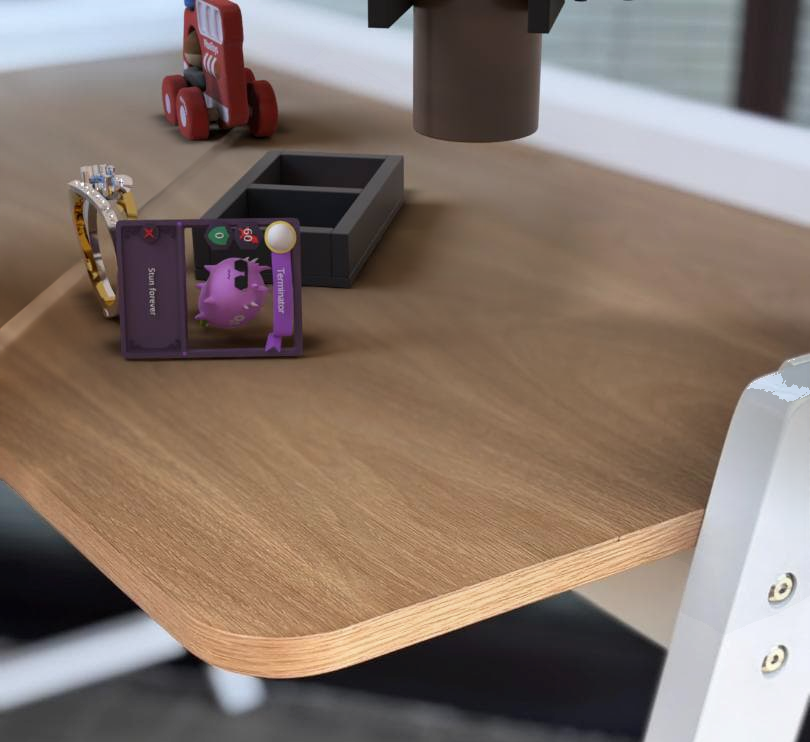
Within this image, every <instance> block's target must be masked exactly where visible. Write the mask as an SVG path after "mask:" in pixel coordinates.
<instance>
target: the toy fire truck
mask: <svg viewBox="0 0 810 742" xmlns="http://www.w3.org/2000/svg"><path fill="white" fill-rule="evenodd" d="M183 4H184V6H185V8H184V10H183V32H182V33H183V35H182V58H183V59H182V60H183V67H184V69H183V71H182V73H183V74H182V75H181V74H171V75H166V76H164V78H163V79H162V82H161V99H162V105H163V106H162V107H163V111H164V116H165V119H166V120H167V121H169V123H171V124H172V125H174V126H178V128H179V133H180V134H181V135H182V136H183V137H184V138H186V139H187V140H189V141H200V140H208V139H209V135H210V129H211V127H210V126H211V125H210V122H216V124H217V126H218V128H219V129H221V130H225V129H226V130H227V129H232V128H237V127H241V126H245V125H246V124H247V126H248V128H249V131H250V132H251V134H252V136H254V137H257V138H261V137H271V136H273V135H274V134H275V133H276V131H277V129H278V125H279V107H278V102H277V97H276V93H275V90H274V88H273V86H272V84H271V82H269V81H268V80H267V79H259V80H258V79H257V80H256V76H255V74H254V72H253V71H252V69H251V68H249V67H245V58H244V57H245V56H244V41H245V39H244V38H245V35H244V24H243V23H244V22H243V14H242V10H241V7H240V6H239V4H238V3H236V2H234V1H231V0H183Z"/></svg>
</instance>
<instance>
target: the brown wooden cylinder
mask: <svg viewBox="0 0 810 742" xmlns="http://www.w3.org/2000/svg"><path fill="white" fill-rule="evenodd" d="M527 27H528V0H413V6H412V128H413V130H414V131H415V132H416V133H417V134H420V135H421V136H424V137H426V138H430V139H435V140H438V141H444V142H450V143H451V142H452V143H464V144H491V143H502V142H503V143H504V142H511V141H516V140H520V139H524V138H527V137H530V136H532V135H534V134H535V133H536V132H538V129H539V121H540V101H541V99H540V96H541V75H542V73H541V72H542V53H543V52H542V49H543V47H542V46H543V34H542V33H527Z"/></svg>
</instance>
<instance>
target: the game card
mask: <svg viewBox="0 0 810 742" xmlns="http://www.w3.org/2000/svg"><path fill="white" fill-rule="evenodd" d="M230 227H237V228H236V230H235V232H234V233H233V231H232V230H231V228H230ZM259 227H268V228H267V229H266V231H265V236H264V234H263V233H262V231H261V229H260V228H259ZM192 228H208V229H207V230H206V232H205V234H204V238H205V239H206V241H207V243H208V244H209V246H210V248H211V249H212V250H228V249H229V247H230V245H231V243H232V241H233V239H235V241H236V243H237V244H238V246H239V247H240V249H241V250H244V249H257V248H258V246H259V244H260V242H261V240H262V238H263V236H264V237H265V243H266V245H267V247H268V248H269V249H270V250H271V251H272V271H273V283H272V285H273V289H272V290H273V292H272V291H271V289H269V288H268V287H266V286H265V283H264V282H263V279H262V277H261V275H260V273H259V272H261V271H263V270H267V269H269V270H270V269H271V268H270V267H268V266H258V265H259V263H256V264H255V262H256V260H257V259H258V258H256V259H254V260H252V261H248V258H249V257H247V258H245V259H240V258H229V259H226V260H224V261H222V262H220V263H219V264H217V265H205V266H204V267H205V268H206V269H207V270H208V271H209V272H210V276H209V278H208V280H206V282H199V283H196V284H195V287H196V288H197V289H199V290H200V293H199V297H198V304H197V305H198V310H199V313H198V314H197V315H195V316H194V319H195V320H199V325H200V326H201V327H205V328H207V327H208V326H213V327H216V328H218V329H233V328H238V327H241V326H244V325H246V324H247V323H249V322H251V321H252V320H253V319H254V318H255V317H256V316H258V314H259V313H260V311H261V310H262V308H263V306H264V305H265V301H266V294H272V293H273V303H272V304H273V305H272V306H273V314H272V315H273V317H272V318H273V323H272V325H273V332H269V334H268V336H267V339H266V345H265V347H243V348H240V347H239V348H238V347H237V348H191V347H190V337H189V314H188V313H189V312H188V311H189V310H188V289H187V288H188V286H187V285H188V284H187V263H186V236H185V229H192ZM116 246H117V268H118V290H119V312H120V316H119V329H120V330H119V331H120V332H119V333H120V352H121V356H122V358H124V359H169V358H170V359H171V358H173V359H174V358H180V359H181V358H231V357H236V358H237V357H285V356H286V357H287V356H288V357H291V356H292V357H293V356H294V357H295V356H301V355H302V354H303V352H304V337H303V336H304V334H303V333H304V331H303V299H302V298H303V295H302V285H301V254H300V223H299V220H298V219H296V218H242V219H200V218H184V219H183V218H182V219H181V218H179V219H178V218H177V219H138V220H123V219H119V220H118V221H117V222H116ZM291 249H292V272H291V256H290V250H291ZM292 277H293V285H292ZM292 335H293V344H294V345H293V347H282V339H283V337H291V336H292Z"/></svg>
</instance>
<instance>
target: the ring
mask: <svg viewBox="0 0 810 742" xmlns="http://www.w3.org/2000/svg"><path fill="white" fill-rule="evenodd" d="M115 170H116V167H115V166H114V165H110V164H109V165H107V164H106V163H104V164H99V165H98V164H95V165H94V164H93V165H89V166H88V165H83V166H82V167H79V171H80V176H81V181H80V180H78V179H74V180H72V181H70V182H67V183H66V185H67V186H68V187H69V189H68V192H67V200H68V206H69V211H70V215H71V219H72V224H73V228H74V231H75V234H76V239H77V243H78V246H79V249H80V252H81V256H82V259H83V263H84V266H85V268H86V272H87V274H88V277H89V281H90V283H91V285H92V288H93V290H94V291H93V292H94V293H95V296H96V298H97V300H98V302H99V303H100V306H101V308H102V311H103V315H104V316H105V318H106V319H109V318H116V317H120V312H119V290H118V268H117V246H116V222H117V221H119V220H118V217H117V214H116V213H115V211H114V209H113V207H112V206H111V204H110V203H109V201H114V200H116V204H115V205H116V206H117V208H118V210H119V213H120V215H121V218H122V220H139V217H138V211H137V206H136V202H135V198H134V196H133V194H132V191H131V190H132V188H133V184H134V183H133V182H134V181H133V179H132V178H131V177H130V175H127V174H116V171H115ZM116 186H118V187H119V189H117V190H116ZM84 203H85V205H84ZM98 214H99V215H100V216H101V218H102V220H103V222H104V223H105V226H106V228H107V231H108V234H109V237H110V240H111V245H112V249H113V254H114V259H115V269H116V292H114V291H113V288H112V286H111V284H110V281H109V277H108V275H107V272H106V269H105V265H104V261H103V258H102V257H103V256H102V252H101V247H100V242H99V241H100V240H99V234H98V233H99V232H98ZM84 216H85V218H84Z"/></svg>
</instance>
